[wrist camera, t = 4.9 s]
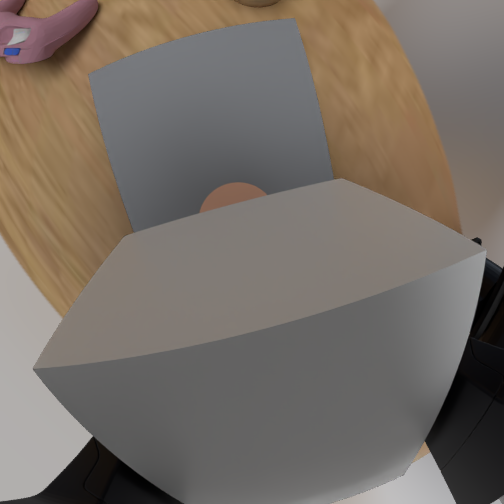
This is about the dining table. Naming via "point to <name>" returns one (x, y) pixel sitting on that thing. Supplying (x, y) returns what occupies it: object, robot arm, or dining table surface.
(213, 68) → the board
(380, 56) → the dining table surface
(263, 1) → the beige cylinder
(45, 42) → the video game controller
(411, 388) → the white rectangular block
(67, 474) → the robot arm
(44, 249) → the dining table surface
